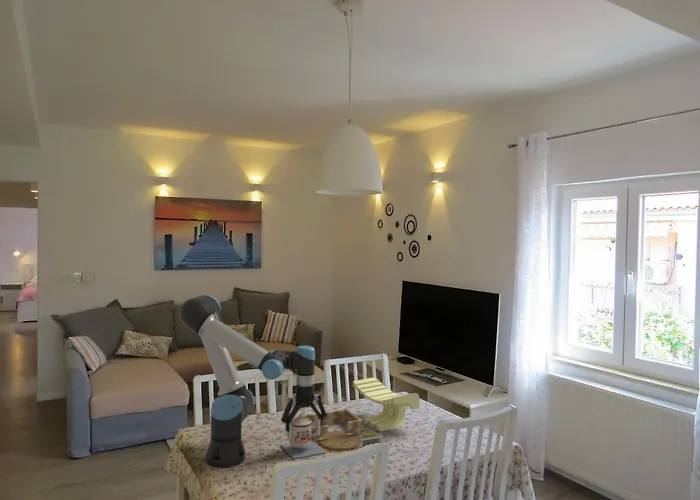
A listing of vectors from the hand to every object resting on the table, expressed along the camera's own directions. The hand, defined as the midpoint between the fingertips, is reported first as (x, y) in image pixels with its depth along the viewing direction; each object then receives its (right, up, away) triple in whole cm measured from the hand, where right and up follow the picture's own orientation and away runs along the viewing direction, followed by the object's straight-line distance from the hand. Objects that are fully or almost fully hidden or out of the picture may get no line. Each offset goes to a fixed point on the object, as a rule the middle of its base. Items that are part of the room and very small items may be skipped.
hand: (303, 436), depth 210 cm
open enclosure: (+10, -5, +21) cm, 24 cm away
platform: (+27, -7, +6) cm, 29 cm away
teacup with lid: (0, -3, 0) cm, 3 cm away
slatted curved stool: (+35, -6, +34) cm, 49 cm away
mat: (0, -5, 0) cm, 6 cm away
